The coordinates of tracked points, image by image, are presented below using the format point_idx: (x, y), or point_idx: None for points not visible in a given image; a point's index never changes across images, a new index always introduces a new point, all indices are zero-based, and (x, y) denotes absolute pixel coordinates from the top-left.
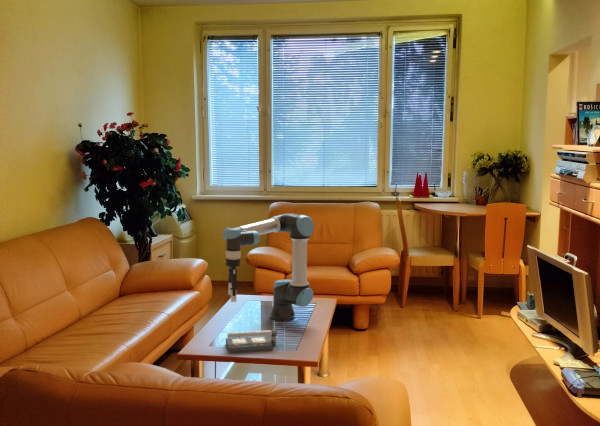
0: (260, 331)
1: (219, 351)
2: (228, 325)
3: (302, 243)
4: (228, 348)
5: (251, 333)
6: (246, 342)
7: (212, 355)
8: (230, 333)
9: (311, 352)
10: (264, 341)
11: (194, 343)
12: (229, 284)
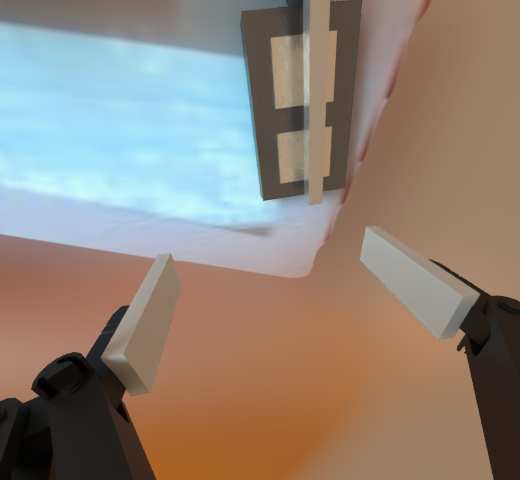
0: (319, 51)
1: (311, 209)
2: (69, 190)
3: None
4: None
5: (324, 105)
6: None
7: (333, 224)
8: (317, 195)
9: None
10: None
11: (250, 268)
12: (152, 367)
